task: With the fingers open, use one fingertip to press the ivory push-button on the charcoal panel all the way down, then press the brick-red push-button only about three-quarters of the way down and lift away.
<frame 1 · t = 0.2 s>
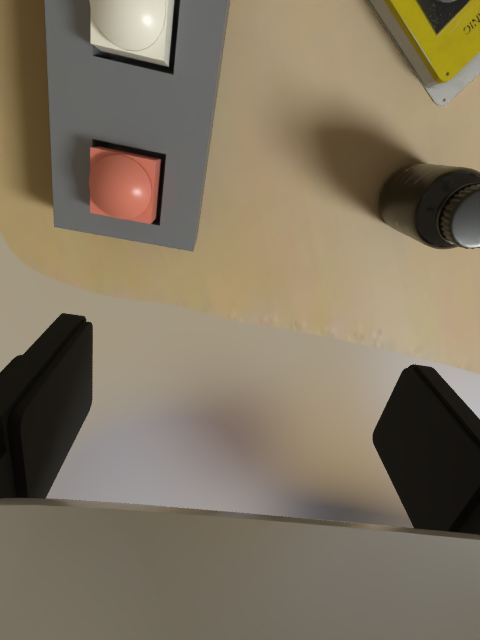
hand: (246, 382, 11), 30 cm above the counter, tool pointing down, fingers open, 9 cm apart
button panel: (144, 111, 33), on the counter
supplement bottle: (407, 196, 38), on the counter
ivory button: (132, 11, 25), point 6 cm above the counter, slide at 0.0 cm
red button: (125, 186, 31), point 6 cm above the counter, slide at 0.0 cm
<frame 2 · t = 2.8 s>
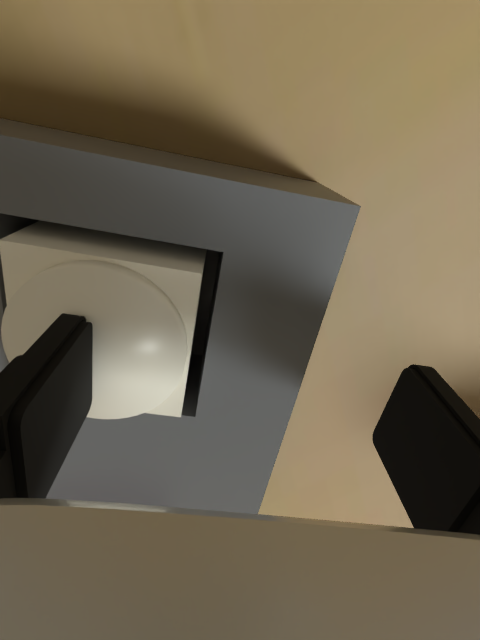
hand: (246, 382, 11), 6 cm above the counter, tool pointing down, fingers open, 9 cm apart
button panel: (135, 382, 18), on the counter
ivory button: (112, 324, 11), point 5 cm above the counter, slide at 1.4 cm, touching gripper
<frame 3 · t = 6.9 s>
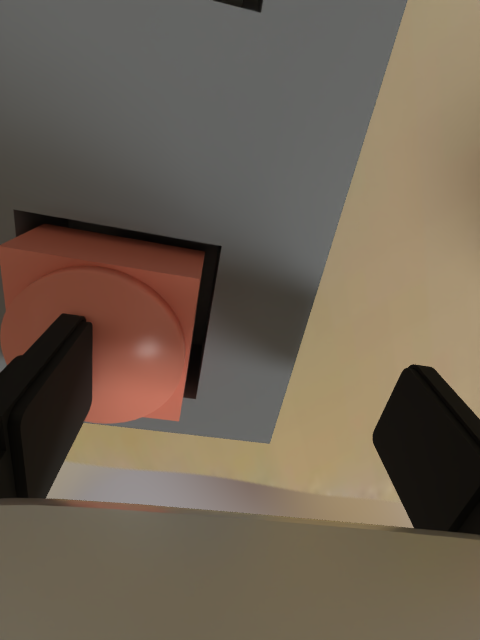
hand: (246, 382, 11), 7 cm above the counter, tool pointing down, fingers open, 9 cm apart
button panel: (157, 125, 14), on the counter
red button: (110, 329, 11), point 6 cm above the counter, slide at 0.2 cm, touching gripper
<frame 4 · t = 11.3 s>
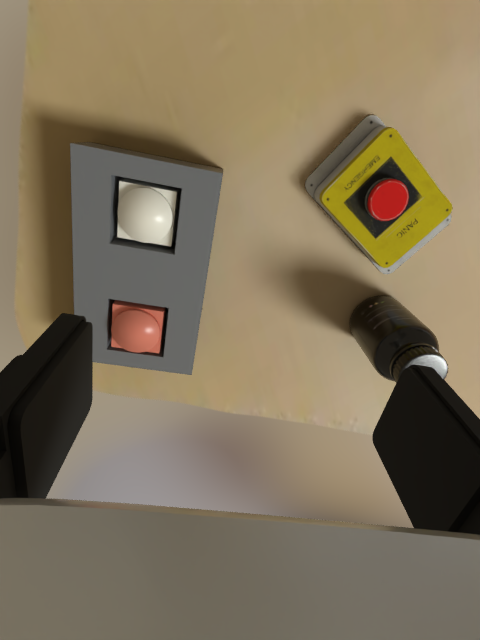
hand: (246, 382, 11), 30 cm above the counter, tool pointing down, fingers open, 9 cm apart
button panel: (149, 261, 40), on the counter
supplement bottle: (375, 317, 45), on the counter
ivory button: (148, 213, 35), point 3 cm above the counter, slide at 2.8 cm
emergency button: (377, 201, 39), on the counter
red button: (138, 325, 39), point 4 cm above the counter, slide at 1.9 cm
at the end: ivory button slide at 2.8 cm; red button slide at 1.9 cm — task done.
